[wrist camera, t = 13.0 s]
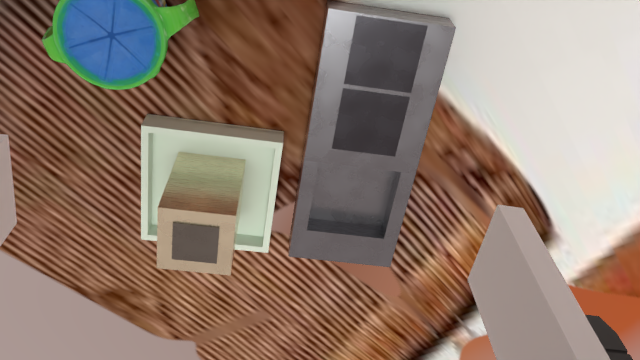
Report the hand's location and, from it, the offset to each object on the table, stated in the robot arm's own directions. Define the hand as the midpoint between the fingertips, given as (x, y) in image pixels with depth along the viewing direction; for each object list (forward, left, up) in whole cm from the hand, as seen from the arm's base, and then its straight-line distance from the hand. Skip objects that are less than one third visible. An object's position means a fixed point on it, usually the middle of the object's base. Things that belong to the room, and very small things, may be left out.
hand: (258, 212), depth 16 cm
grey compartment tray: (+9, -14, -34) cm, 38 cm away
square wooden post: (-5, -20, -34) cm, 39 cm away
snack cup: (-11, -5, -34) cm, 37 cm away
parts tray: (-4, -20, -34) cm, 40 cm away
